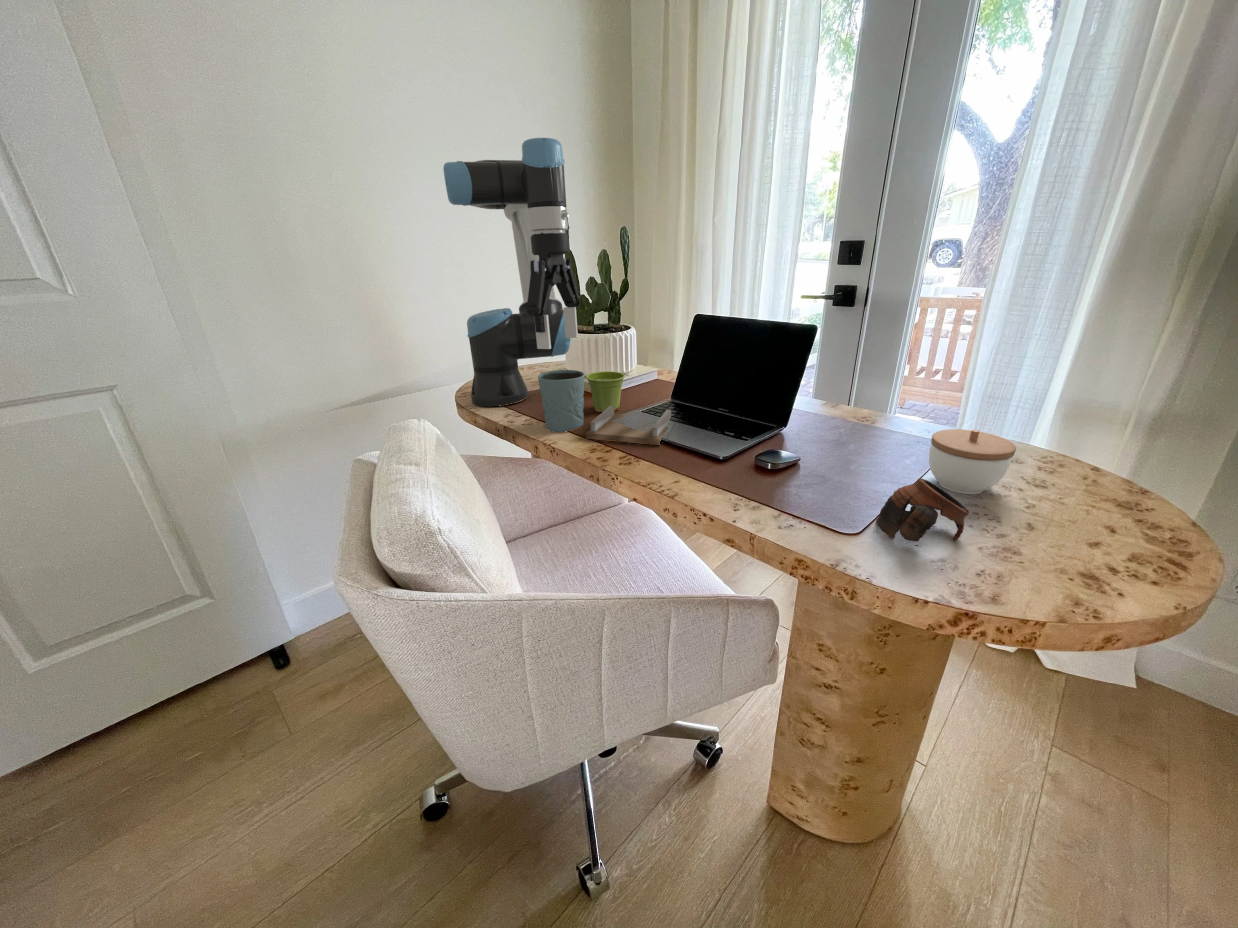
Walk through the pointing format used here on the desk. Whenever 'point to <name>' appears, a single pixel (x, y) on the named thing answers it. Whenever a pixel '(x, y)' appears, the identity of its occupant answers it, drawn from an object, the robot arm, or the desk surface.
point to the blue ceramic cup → (562, 399)
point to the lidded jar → (969, 459)
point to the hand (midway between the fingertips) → (558, 343)
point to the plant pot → (605, 389)
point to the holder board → (626, 429)
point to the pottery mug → (919, 511)
